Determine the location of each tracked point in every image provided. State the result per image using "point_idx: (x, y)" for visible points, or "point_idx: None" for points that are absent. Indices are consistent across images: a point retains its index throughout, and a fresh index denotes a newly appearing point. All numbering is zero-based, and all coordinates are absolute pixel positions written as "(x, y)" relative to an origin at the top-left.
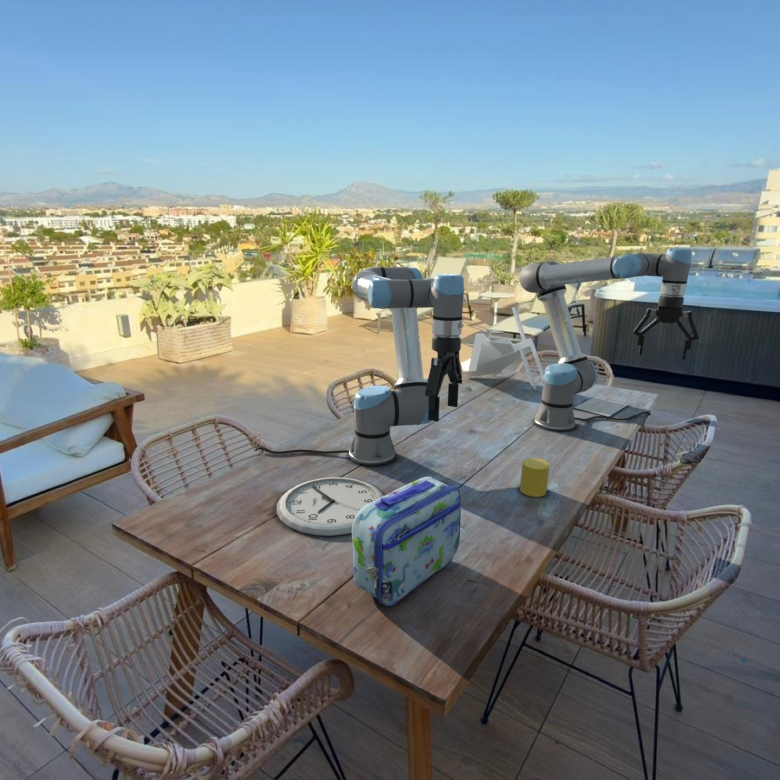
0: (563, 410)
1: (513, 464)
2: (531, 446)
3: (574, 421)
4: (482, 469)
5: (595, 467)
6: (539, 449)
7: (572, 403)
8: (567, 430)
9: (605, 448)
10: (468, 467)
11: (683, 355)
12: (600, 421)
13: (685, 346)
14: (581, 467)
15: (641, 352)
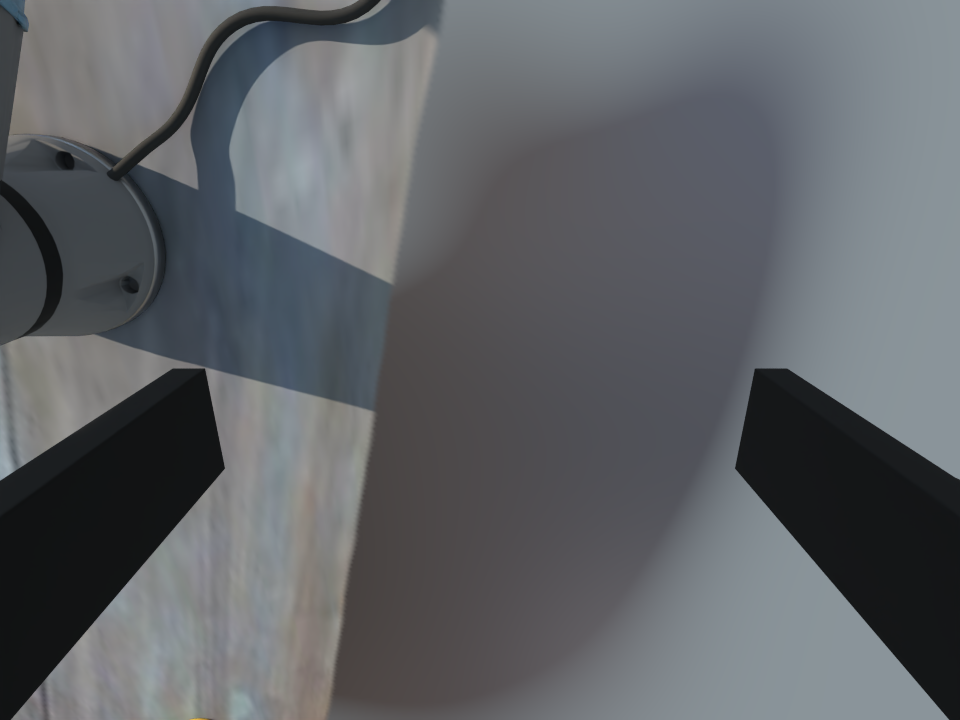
0: (49, 326)
1: (104, 642)
2: None
3: (143, 258)
4: (48, 693)
5: (320, 579)
6: None
7: (49, 272)
8: (149, 304)
9: (328, 426)
10: None
11: (769, 501)
12: (256, 79)
13: (872, 615)
14: (282, 593)
15: (198, 494)
